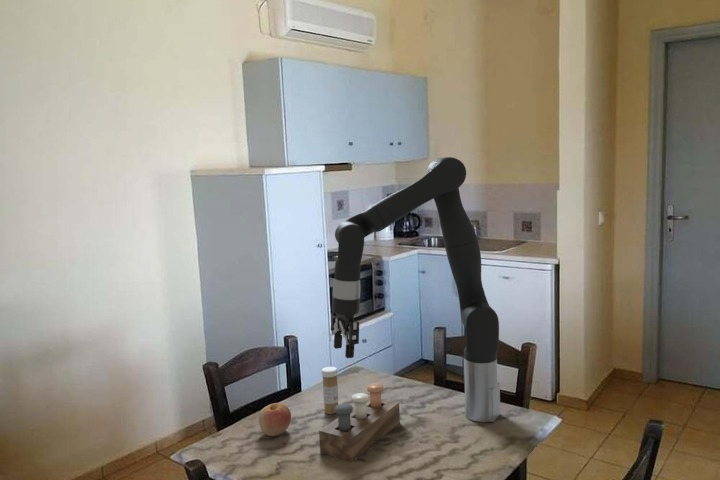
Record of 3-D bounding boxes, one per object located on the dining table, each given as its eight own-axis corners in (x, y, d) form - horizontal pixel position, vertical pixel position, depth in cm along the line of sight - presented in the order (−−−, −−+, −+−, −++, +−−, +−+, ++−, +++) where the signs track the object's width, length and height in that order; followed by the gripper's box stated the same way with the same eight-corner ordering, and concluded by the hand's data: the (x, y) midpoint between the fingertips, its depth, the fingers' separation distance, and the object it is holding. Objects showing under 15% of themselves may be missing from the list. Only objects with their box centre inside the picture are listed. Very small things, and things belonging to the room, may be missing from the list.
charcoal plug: (357, 431, 155) (356, 405, 155) (347, 438, 152) (346, 412, 151) (342, 427, 158) (341, 402, 157) (332, 434, 154) (331, 409, 153)
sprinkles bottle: (333, 407, 183) (330, 365, 181) (342, 411, 179) (340, 368, 177) (321, 411, 180) (318, 368, 178) (330, 416, 176) (327, 372, 174)
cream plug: (372, 419, 162) (371, 394, 161) (364, 426, 158) (362, 401, 157) (358, 416, 165) (357, 392, 164) (349, 422, 161) (348, 398, 160)
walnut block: (399, 422, 170) (399, 402, 169) (352, 461, 149) (351, 438, 148) (369, 415, 175) (369, 396, 174) (320, 452, 154) (319, 430, 153)
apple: (297, 428, 169) (295, 401, 168) (280, 442, 161) (278, 414, 160) (271, 424, 173) (269, 398, 172) (253, 437, 165) (251, 410, 164)
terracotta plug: (387, 408, 169) (386, 384, 168) (379, 414, 165) (378, 390, 164) (373, 405, 171) (372, 382, 170) (365, 411, 167) (363, 387, 167)
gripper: (369, 300, 157) (366, 360, 159) (348, 289, 170) (346, 343, 172) (343, 302, 154) (340, 362, 156) (324, 290, 167) (321, 346, 169)
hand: (343, 352), depth 164 cm, fingers open, 8 cm apart
